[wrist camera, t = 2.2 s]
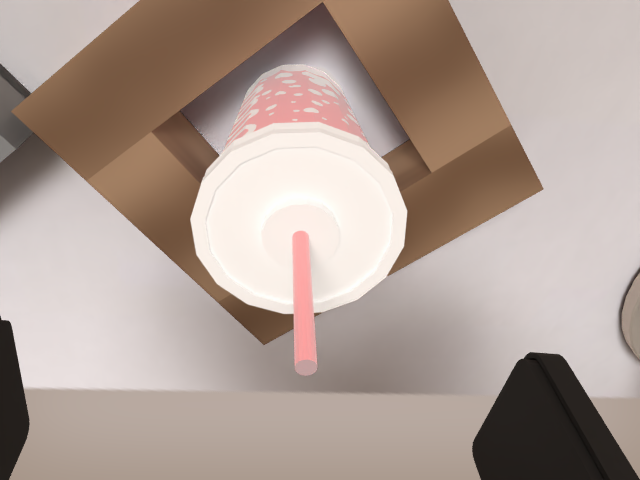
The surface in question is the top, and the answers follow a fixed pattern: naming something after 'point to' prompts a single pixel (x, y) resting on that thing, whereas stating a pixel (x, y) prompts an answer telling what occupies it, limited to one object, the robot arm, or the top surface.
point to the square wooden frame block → (229, 52)
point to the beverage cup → (298, 205)
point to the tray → (11, 114)
